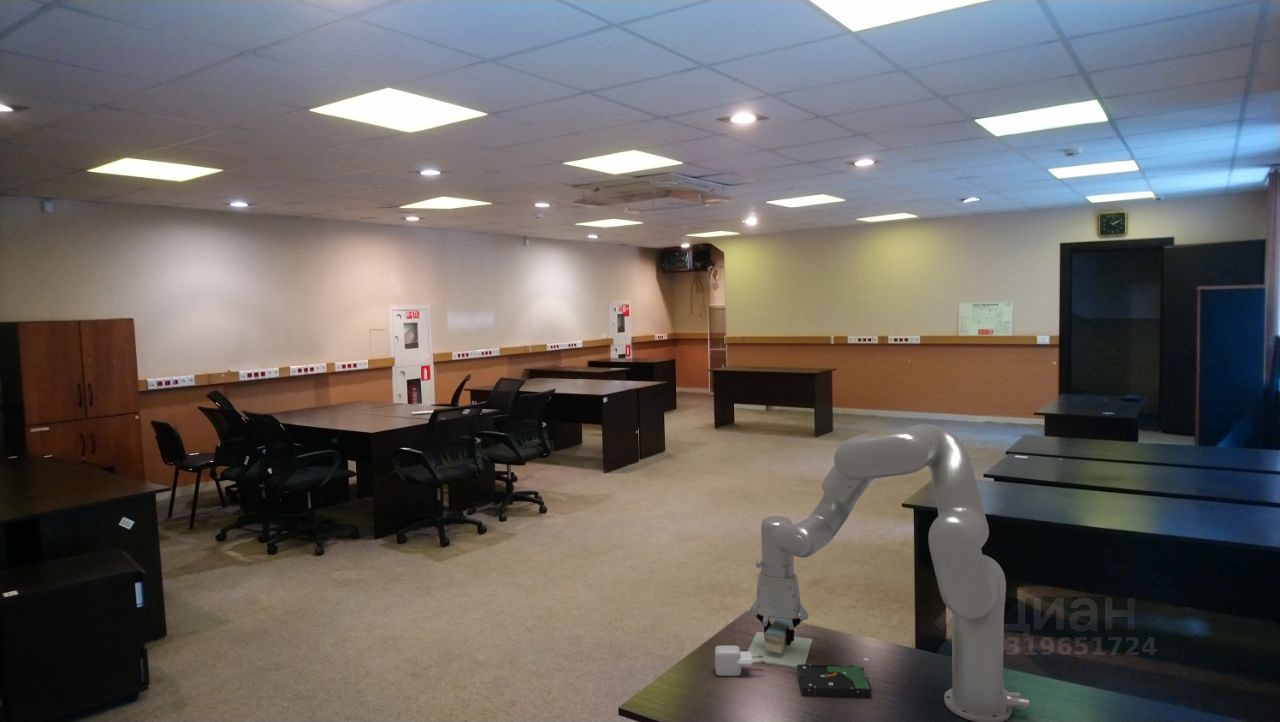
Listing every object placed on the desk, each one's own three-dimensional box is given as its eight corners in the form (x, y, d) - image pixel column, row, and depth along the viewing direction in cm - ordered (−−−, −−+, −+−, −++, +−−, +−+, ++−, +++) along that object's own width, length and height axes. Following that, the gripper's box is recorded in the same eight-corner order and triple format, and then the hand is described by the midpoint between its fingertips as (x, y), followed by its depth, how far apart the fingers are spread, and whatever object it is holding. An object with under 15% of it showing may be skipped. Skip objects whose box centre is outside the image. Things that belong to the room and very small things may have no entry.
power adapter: (763, 667, 169) (762, 643, 168) (765, 678, 164) (764, 653, 163) (714, 667, 169) (714, 643, 169) (715, 678, 165) (715, 653, 164)
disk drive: (801, 700, 156) (872, 701, 154) (801, 687, 155) (872, 688, 154) (796, 675, 166) (863, 676, 164) (796, 663, 166) (862, 664, 164)
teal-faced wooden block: (781, 653, 171) (780, 636, 171) (764, 650, 173) (764, 633, 173) (793, 636, 180) (792, 620, 180) (777, 633, 182) (777, 617, 181)
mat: (812, 641, 181) (812, 639, 181) (803, 669, 167) (803, 667, 167) (757, 634, 186) (756, 631, 186) (744, 660, 172) (744, 658, 172)
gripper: (740, 570, 175) (741, 644, 176) (811, 577, 169) (812, 653, 170) (746, 560, 182) (748, 631, 183) (815, 566, 176) (816, 639, 177)
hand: (779, 641), depth 176 cm, fingers closed on teal-faced wooden block, 4 cm apart
